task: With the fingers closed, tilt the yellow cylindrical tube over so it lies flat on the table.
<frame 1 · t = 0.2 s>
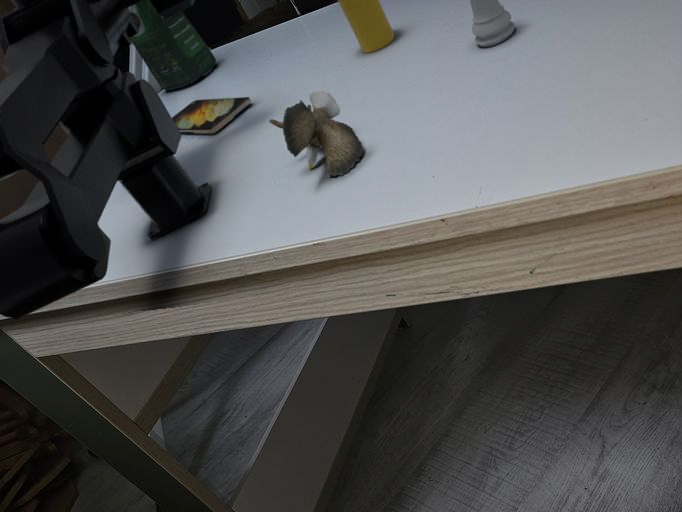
coffee jar: (192, 79, 109), on the table
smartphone: (206, 119, 91), on the table
yellow cylindrical tube: (378, 43, 86), on the table
eagle figurine: (331, 160, 67), on the table
rook chess piece: (496, 38, 73), on the table
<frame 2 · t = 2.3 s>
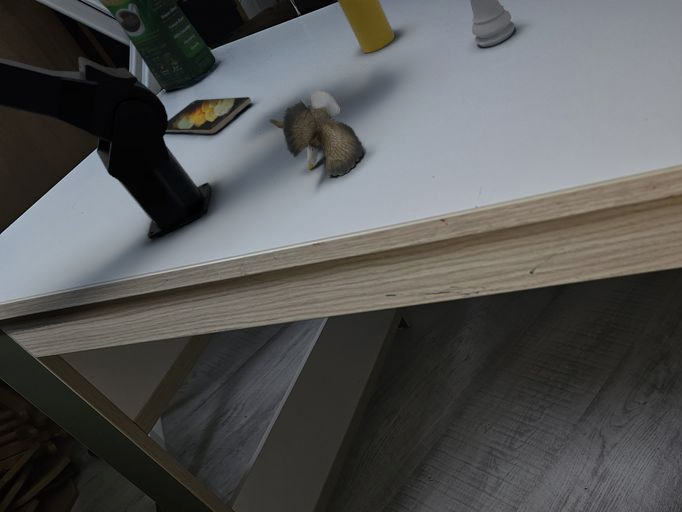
nothing on the table moved.
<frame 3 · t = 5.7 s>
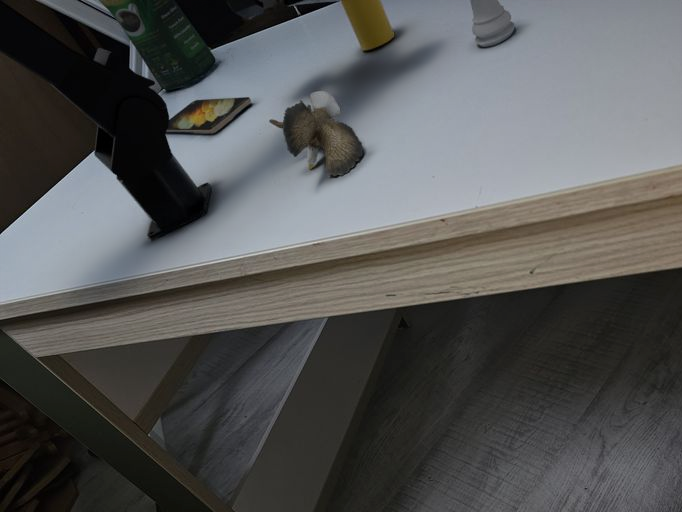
nothing on the table moved.
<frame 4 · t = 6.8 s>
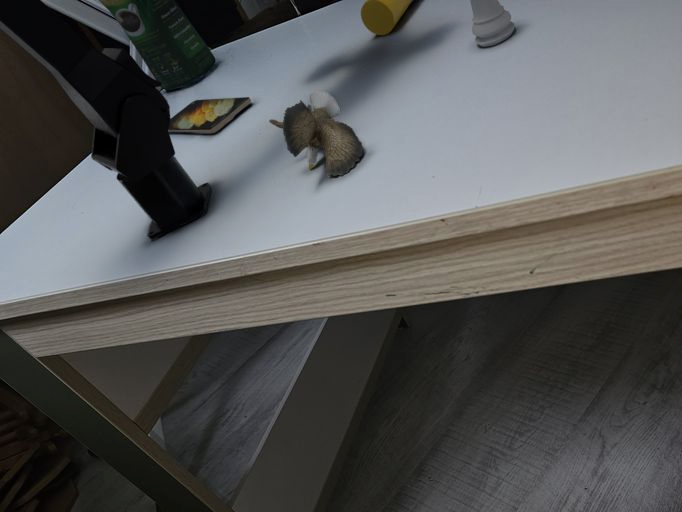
yellow cylindrical tube: (377, 18, 86), point 2 cm above the table, tilted 88°
everything else where it was.
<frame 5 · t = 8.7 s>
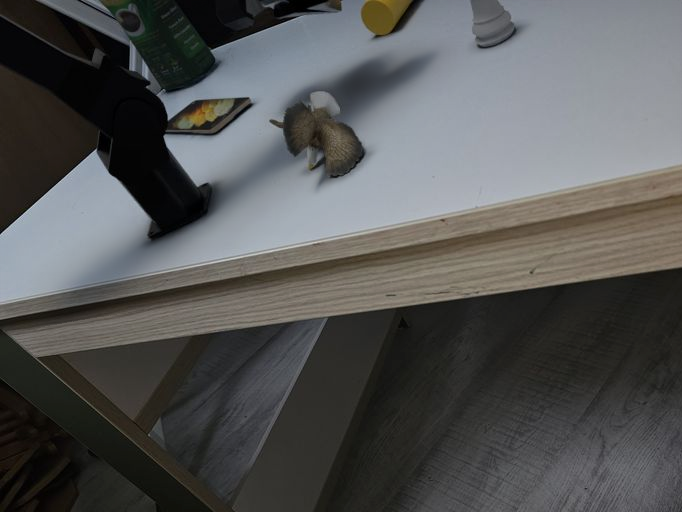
hand: (339, 7, 79), 6 cm above the table, tool tilted 45°, fingers closed
nothing on the table moved.
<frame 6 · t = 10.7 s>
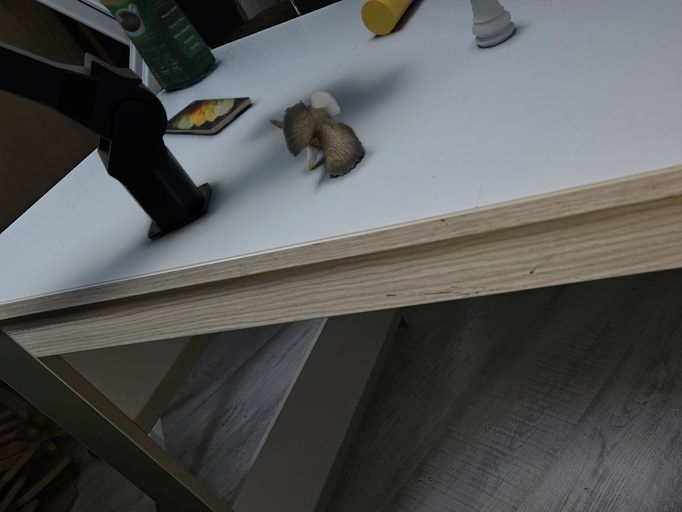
nothing on the table moved.
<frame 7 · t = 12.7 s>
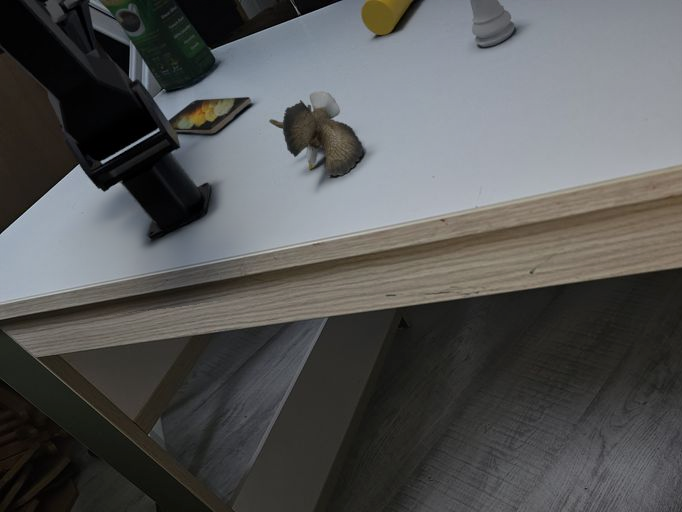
hand: (99, 81, 74), 12 cm above the table, tool pointing down, fingers closed
nothing on the table moved.
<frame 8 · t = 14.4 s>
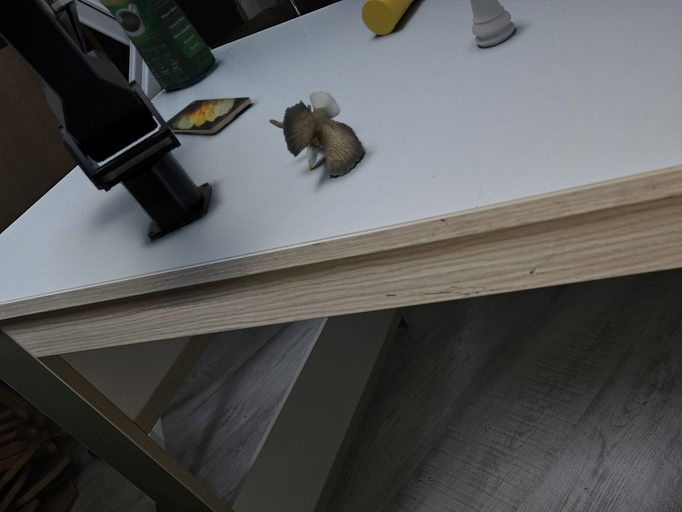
hand: (91, 85, 73), 12 cm above the table, tool pointing down, fingers closed
nothing on the table moved.
at the end: yellow cylindrical tube tilted 88° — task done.
